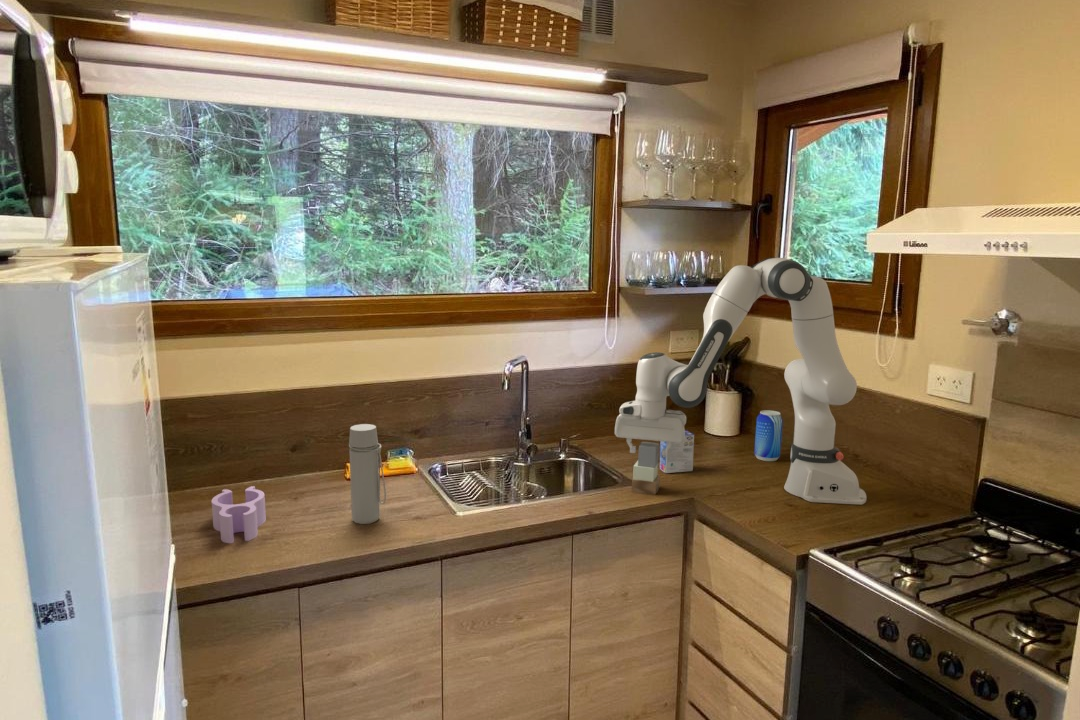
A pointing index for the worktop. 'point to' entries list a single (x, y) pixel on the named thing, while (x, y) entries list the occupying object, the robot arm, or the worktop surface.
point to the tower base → (646, 486)
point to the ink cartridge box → (678, 455)
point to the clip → (238, 514)
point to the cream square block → (644, 473)
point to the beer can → (768, 435)
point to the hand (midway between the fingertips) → (648, 454)
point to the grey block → (648, 454)
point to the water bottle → (365, 473)
